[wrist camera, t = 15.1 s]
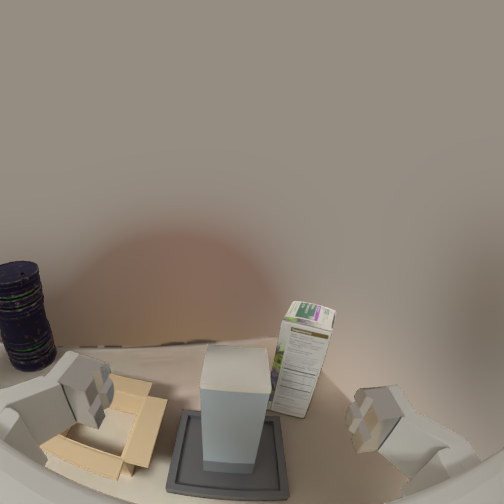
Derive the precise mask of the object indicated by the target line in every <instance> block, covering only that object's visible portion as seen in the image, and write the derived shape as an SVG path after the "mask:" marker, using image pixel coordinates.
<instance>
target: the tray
mask: <svg viewBox="0 0 504 504" xmlns="http://www.w3.org/2000/svg"><path fill="white" fill-rule="evenodd" d="M166 491H167V492H168V493H174V494H180V495H186V496H193V497H200V498H209V499H220V500H236V501H281V500H288V498H289V489H288V481H287V473H286V465H285V457H284V449H283V441H282V434H281V426H280V418H279V417H271V416H265V419H264V423H263V428H262V433H261V437H260V442H259V446H258V450H257V455H256V459H255V466H254V470H253V474H242V473H225V472H213V471H204V470H203V445H202V423H201V412H199V411H191V410H184V409H183V411H182V415H181V419H180V424H179V428H178V432H177V437H176V441H175V446H174V450H173V455H172V459H171V464H170V469H169V473H168V478H167V483H166Z"/></svg>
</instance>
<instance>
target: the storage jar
mask: <svg viewBox="0 0 504 504" xmlns="http://www.w3.org/2000/svg"><path fill="white" fill-rule="evenodd" d="M43 303H44V295H43V293H42V285H41V281H40V276H39V268H38V265H37V264H36V263H34V262H30V261H15V262H9V263H5V264H2V265H0V329H1V337H2V340H3V344H4V347H5V349H6V352H7V353H8V356H9V357H10V361H11V363H12V365H13V366H14V367H15V368H16V369H18V370H20V371H24V372H35V371H39V370H42V369H44V368H46V367H47V366H49V365H50V364H51V363H52V362H53V361H54V359H55V357H56V353H57V351H56V347H55V345H54V340H53V334H52V331H51V328H50V324H49V321H48V320H47V318H46V314H45V309H44V305H43Z"/></svg>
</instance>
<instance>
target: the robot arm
mask: <svg viewBox="0 0 504 504" xmlns="http://www.w3.org/2000/svg"><path fill="white" fill-rule="evenodd" d="M110 373H111V370H110V366H109V364H108V363H107V362H104V361H101V360H98V359H95V358H92V357H89V356H86V355H83V354H79V353H76V352H73V351H71V350H70V351H67V352H66V353H65V354H64V355H63V356H62V357H61V359H60V360H59V361H58V362H57V363H56V364H55V366H54V367H53V368H52V369H51V370H50V371H49V373H48V374H47V375H46V376H45V377H43V376H39V377H37V378H34V379H31V380H28V381H25V382H22V383H19V384H16V385H13V386H10V387H7V388H4V389H1V390H0V504H136V503H132V502H129V501H125V500H122V499H119V498H116V497H113V496H110V495H107V494H105V493H102V492H99V491H97V490H94V489H91V488H89V487H87V486H84V485H82V484H79V483H77V482H75V481H73V480H70V479H68V478H66V477H64V476H62V475H60V474H58V473H56V472H54V471H52V470H50V469H48V468H46V467H45V464H46V462H47V460H48V459H47V456H46V455H45V454H44V452H43V451H42V449H41V448H40V447H39V446H40V445H42V444H43V443H45V442H47V441H48V440H50V439H52V438H53V437H55V436H57V435H58V434H60V433H62V432H63V431H65V430H67V429H68V428H70V427H71V426H73V425H75V424H76V422H78V423H81V424H84V425H87V426H89V427H92V428H95V429H99V427H100V425H101V423H102V421H103V419H104V417H105V413H104V409H106V408H108V407H110V405H111V403H112V401H113V397H114V384H113V381H112V380H111V379H110V377H109V374H110ZM354 398H355V400H356V401H355V402H353V403H352V404H351V405H350V406H349V408H348V410H347V412H346V426H347V429H348V430H349V431H350V432H351V433H353V434H354V435H353V437H352V439H351V440H352V443H353V445H354V448H355V451H356V453H363V452H370V451H376V450H378V452H379V453H380V454H381V455H382V456H383V457H384V458H386V459H387V460H388V461H389V462H390V463H391V464H393V465H394V466H395V467H396V468H397V469H398V470H400V471H401V472H402V473H403V474H404V475H406V476H407V477H408V478H409V479H410V481H409V482H408V483H406V484H405V485H404V486H403V487H402V489H401V493H402V496H403V497H402V498H399V499H395V500H392V501H389V502H386V503H382V504H504V448H502V449H501V450H499V451H497V452H496V453H494V454H493V455H491V456H490V457H488V458H486V459H485V460H483V461H480V459H479V457H478V456H477V454H476V453H475V451H474V450H473V448H472V447H471V445H470V444H469V442H468V440H467V439H466V438H464V437H462V436H460V435H458V434H456V433H455V432H453V431H451V430H449V429H447V428H445V427H443V426H442V425H440V424H438V423H436V422H435V421H433V420H431V419H429V418H427V417H426V416H424V415H422V414H417V413H416V412H415V410H414V408H413V407H412V405H411V404H410V402H409V400H408V399H407V397H406V396H405V394H404V393H403V391H402V390H401V388H400V387H399V386H398V385H391V386H384V387H373V388H360V389H359V390H357V392H356V394H355V395H354Z"/></svg>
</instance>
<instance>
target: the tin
mask: <svg viewBox="0 0 504 504" xmlns="http://www.w3.org/2000/svg"><path fill="white" fill-rule="evenodd" d="M200 389H201V423H202V445H203V470H204V471H213V472H225V473H242V474H253V470H254V466H255V459H256V455H257V450H258V446H259V442H260V437H261V433H262V428H263V423H264V419H265V414H266V409H267V404H268V400H269V395H270V394H271V389H272V387H271V378H270V369H269V360H268V352H267V348H253V347H239V346H227V345H216V344H208V345H207V349H206V354H205V359H204V364H203V369H202V373H201V378H200Z"/></svg>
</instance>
